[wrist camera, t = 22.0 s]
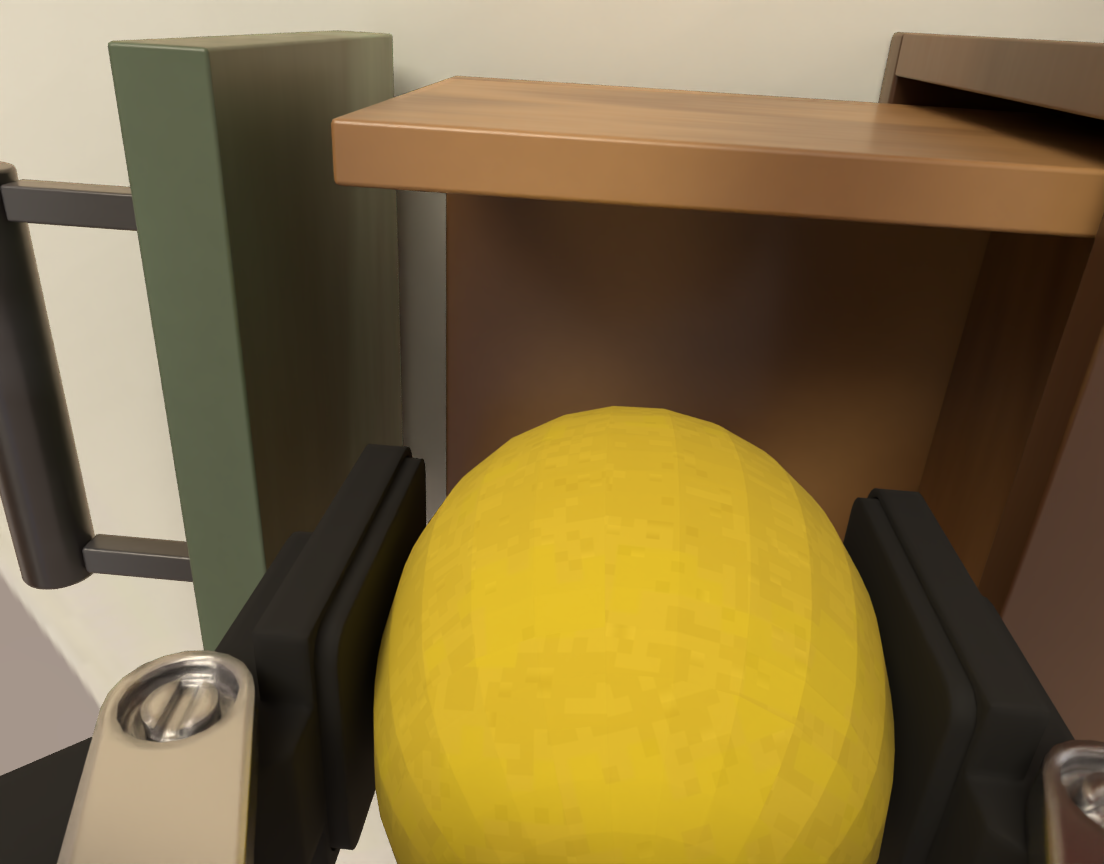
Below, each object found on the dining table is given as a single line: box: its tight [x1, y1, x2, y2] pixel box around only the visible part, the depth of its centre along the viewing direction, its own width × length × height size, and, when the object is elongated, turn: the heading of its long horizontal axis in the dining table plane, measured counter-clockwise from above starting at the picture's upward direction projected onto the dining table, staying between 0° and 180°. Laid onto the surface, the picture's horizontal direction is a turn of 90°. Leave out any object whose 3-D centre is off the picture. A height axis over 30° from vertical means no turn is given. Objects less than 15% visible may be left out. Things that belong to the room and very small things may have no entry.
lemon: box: [373, 406, 895, 864], centre depth 10 cm, size 6×6×8 cm
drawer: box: [0, 31, 1104, 651], centre depth 16 cm, size 20×12×9 cm, turn 87°
